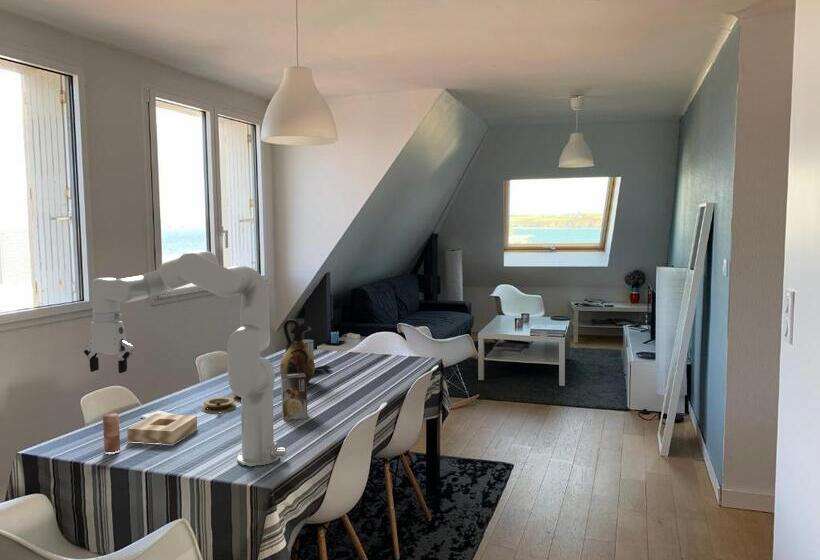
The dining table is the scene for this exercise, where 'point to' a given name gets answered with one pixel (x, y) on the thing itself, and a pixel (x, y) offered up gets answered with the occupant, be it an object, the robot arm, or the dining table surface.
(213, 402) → the tableware set
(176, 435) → the socket block
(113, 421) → the peg
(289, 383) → the coffee box
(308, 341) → the milk frother
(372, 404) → the dining table surface
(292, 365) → the ceramic jug
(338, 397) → the dining table surface
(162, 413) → the external hard drive
